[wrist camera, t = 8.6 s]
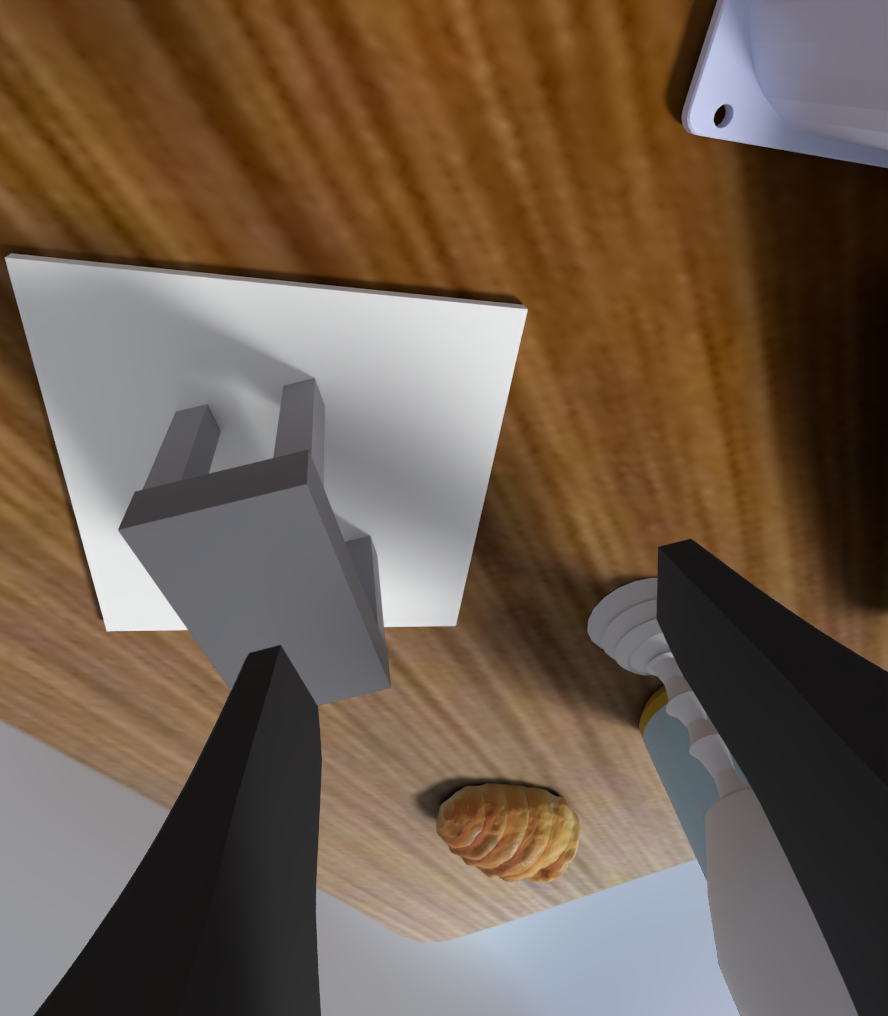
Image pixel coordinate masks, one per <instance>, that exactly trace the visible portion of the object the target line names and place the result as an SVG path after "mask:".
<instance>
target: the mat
mask: <svg viewBox="0 0 888 1016" xmlns="http://www.w3.org/2000/svg"><path fill="white" fill-rule="evenodd" d="M5 261H6V264H7V268H8V272H9V275H10V279H11V283H12V286H13V290H14V294H15V297H16V301H17V305H18V308H19V312H20V316H21V319H22V323H23V326H24V330H25V334H26V337H27V341H28V345H29V348H30V352H31V356H32V359H33V363H34V367H35V370H36V374H37V378H38V381H39V385H40V389H41V392H42V396H43V400H44V403H45V407H46V411H47V414H48V418H49V422H50V425H51V429H52V433H53V436H54V440H55V443H56V447H57V451H58V454H59V458H60V462H61V465H62V469H63V473H64V476H65V480H66V484H67V487H68V491H69V495H70V498H71V502H72V506H73V509H74V513H75V517H76V520H77V524H78V528H79V531H80V535H81V539H82V542H83V546H84V550H85V553H86V557H87V560H88V564H89V568H90V571H91V575H92V579H93V582H94V586H95V590H96V593H97V597H98V601H99V604H100V608H101V612H102V615H103V619H104V623H105V626H106V630H107V631H150V630H188V629H187V628H186V626H185V625H184V623H183V622H182V621H181V619H180V618H179V616H178V615H177V614H176V612H175V611H174V609H173V608H172V606H171V605H170V604H169V602H168V601H167V599H166V598H165V596H164V595H163V594H162V592H161V591H160V589H159V588H158V587H157V585H156V584H155V582H154V581H153V579H152V578H151V577H150V575H149V574H148V572H147V571H146V569H145V568H144V567H143V565H142V564H141V562H140V561H139V560H138V558H137V557H136V555H135V554H134V552H133V551H132V550H131V548H130V547H129V545H128V544H127V542H126V541H125V540H124V538H123V537H122V535H121V534H120V533H119V531H118V528H119V526H120V524H121V522H122V519H123V517H124V515H125V513H126V510H127V508H128V506H129V504H130V501H131V499H132V497H133V495H134V492H135V491H140V490H142V489H143V487H144V485H145V482H146V480H147V478H148V475H149V473H150V471H151V468H152V466H153V464H154V461H155V459H156V457H157V454H158V452H159V450H160V447H161V445H162V443H163V440H164V438H165V435H166V433H167V431H168V428H169V426H170V424H171V421H172V419H173V417H174V414H175V412H177V411H181V410H185V409H189V408H193V407H197V406H201V405H206V404H208V407H209V409H210V411H211V413H212V415H213V417H214V419H215V421H216V423H217V425H218V427H219V429H220V431H221V433H220V436H219V440H218V443H217V446H216V450H215V453H214V457H213V460H212V464H211V467H210V471H209V474H210V473H214V472H218V471H222V470H226V469H230V468H234V467H238V466H243V465H247V464H251V463H255V462H259V461H263V460H267V459H271V458H273V456H274V448H275V441H276V434H277V427H278V420H279V413H280V406H281V398H282V391H283V386H284V385H288V384H292V383H296V382H301V381H305V380H309V379H313V378H315V380H316V382H317V385H318V388H319V391H320V394H321V397H322V399H323V402H324V405H325V433H324V490H325V492H326V495H327V497H328V500H329V503H330V505H331V508H332V510H333V513H334V515H335V518H336V520H337V523H338V525H339V528H340V531H341V533H342V536H343V538H344V541H345V542H347V541H351V540H355V539H359V538H363V537H367V536H371V538H372V541H373V544H374V547H375V550H376V552H377V556H378V567H379V578H380V589H381V599H382V610H383V621H384V627H415V626H456V623H457V618H458V614H459V609H460V605H461V601H462V596H463V592H464V587H465V583H466V579H467V574H468V570H469V565H470V561H471V557H472V552H473V548H474V543H475V539H476V535H477V530H478V526H479V521H480V517H481V513H482V508H483V504H484V499H485V495H486V490H487V486H488V482H489V477H490V473H491V468H492V464H493V460H494V455H495V451H496V446H497V442H498V438H499V433H500V429H501V424H502V420H503V416H504V411H505V407H506V402H507V398H508V394H509V389H510V385H511V380H512V376H513V372H514V367H515V363H516V358H517V354H518V350H519V345H520V341H521V336H522V332H523V328H524V323H525V319H526V314H527V310H528V309H527V308H526V306H525V305H521V304H511V303H501V302H491V301H481V300H471V299H461V298H451V297H441V296H431V295H421V294H411V293H401V292H391V291H381V290H371V289H361V288H351V287H341V286H331V285H321V284H311V283H301V282H291V281H281V280H271V279H261V278H251V277H241V276H231V275H222V274H212V273H202V272H192V271H182V270H172V269H162V268H152V267H142V266H132V265H122V264H112V263H102V262H92V261H82V260H72V259H62V258H52V257H42V256H32V255H22V254H12V253H11V254H10V255H8V256H6V257H5Z"/></svg>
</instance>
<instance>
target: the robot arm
mask: <svg viewBox="0 0 888 1016" xmlns="http://www.w3.org/2000/svg"><path fill="white" fill-rule="evenodd" d="M722 105H724V106H725V109H726V112H725V117H724V119H723V121H722V122H721V123H720V124H719V125H717V126H715V123H714V114H715V113H716V111H717V109H718V108H719V107H720V106H722ZM682 124H683V127H684V128H685V129H686V131H687V132H689V133H691V134H694V135H699V136H705V137H710V138H716V139H722V140H728V141H734V142H739V143H745V144H751V145H757V146H763V147H768V148H774V149H780V150H786V151H792V152H798V153H803V154H809V155H815V156H821V157H827V158H832V159H838V160H844V161H850V162H856V163H861V164H867V165H873V166H879V167H885V168H888V0H717V3H716V6H715V9H714V12H713V16H712V19H711V22H710V25H709V28H708V31H707V34H706V38H705V41H704V44H703V47H702V50H701V53H700V57H699V60H698V63H697V66H696V69H695V72H694V75H693V79H692V82H691V85H690V88H689V91H688V94H687V98H686V101H685V104H684V107H683V111H682ZM656 619H657V622H658V624H659V626H660V628H661V630H662V633H663V635H664V637H665V639H666V642H667V644H668V646H669V648H670V650H671V652H672V655H673V657H674V659H675V661H676V663H677V665H678V667H679V669H680V671H681V672H682V674H683V676H684V677H685V679H686V681H687V682H688V684H689V686H690V687H691V689H692V691H693V692H694V694H695V696H696V697H697V699H698V701H699V702H700V704H701V706H702V707H703V709H704V710H705V712H706V714H707V715H708V717H709V719H710V720H711V722H712V723H713V725H714V727H715V728H716V730H717V732H718V733H719V735H720V736H721V738H722V740H723V741H724V743H725V745H726V746H727V748H728V749H729V751H730V753H731V754H732V756H733V758H734V759H735V761H736V763H737V764H738V766H739V767H740V769H741V771H742V772H743V774H744V776H745V777H746V779H747V781H748V783H749V784H750V786H751V788H752V790H753V792H754V793H755V795H756V797H757V799H758V800H759V802H760V804H761V806H762V808H763V810H764V812H765V815H766V817H767V819H768V821H769V823H770V825H771V827H772V829H773V831H774V833H775V835H776V837H777V839H778V841H779V843H780V845H781V847H782V849H783V851H784V853H785V855H786V857H787V859H788V861H789V863H790V865H791V868H792V870H793V872H794V874H795V876H796V878H797V880H798V882H799V884H800V887H801V889H802V891H803V893H804V895H805V897H806V899H807V901H808V903H809V906H810V908H811V910H812V912H813V914H814V916H815V919H816V921H817V923H818V925H819V927H820V930H821V932H822V934H823V936H824V938H825V941H826V943H827V945H828V947H829V950H830V952H831V954H832V956H833V958H834V961H835V963H836V965H837V967H838V970H839V972H840V974H841V976H842V978H843V981H844V983H845V985H846V988H847V990H848V992H849V995H850V997H851V999H852V1002H853V1004H854V1006H855V1009H856V1011H857V1013H858V1016H888V672H887V671H885V670H883V669H882V668H880V667H878V666H877V665H875V664H873V663H871V662H870V661H868V660H866V659H865V658H863V657H861V656H860V655H858V654H856V653H855V652H853V651H852V650H850V649H848V648H847V647H845V646H843V645H842V644H840V643H839V642H837V641H835V640H834V639H832V638H831V637H829V636H827V635H826V634H824V633H823V632H821V631H820V630H818V629H817V628H815V627H814V626H812V625H810V624H809V623H807V622H806V621H804V620H803V619H802V618H800V617H799V616H797V615H796V614H794V613H793V612H791V611H790V610H788V609H787V608H785V607H784V606H782V605H781V604H780V603H778V602H777V601H775V600H774V599H772V598H771V597H769V596H768V595H767V594H765V593H764V592H762V591H761V590H760V589H758V588H757V587H755V586H754V585H753V584H751V583H750V582H749V581H747V580H746V579H744V578H743V577H742V576H740V575H739V574H738V573H736V572H735V571H734V570H732V569H731V568H730V567H728V566H727V565H726V564H724V563H723V562H722V561H720V560H719V559H718V558H716V557H715V556H714V555H712V554H711V553H710V552H708V551H707V550H706V549H704V548H703V547H702V546H700V545H699V544H698V543H696V542H695V541H693V540H692V539H688V540H684V541H680V542H676V543H673V544H669V545H665V546H661V547H658V577H657V615H656ZM321 766H322V756H321V739H320V726H319V714H318V706H317V704H316V702H315V701H314V699H313V697H312V696H311V694H310V692H309V691H308V689H307V687H306V686H305V684H304V682H303V681H302V679H301V677H300V676H299V674H298V672H297V671H296V669H295V667H294V666H293V664H292V662H291V661H290V659H289V657H288V656H287V654H286V652H285V651H284V649H283V648H282V646H281V645H278V646H274V647H270V648H266V649H262V650H258V651H254V652H251V653H249V654H248V656H247V657H246V659H245V661H244V663H243V665H242V668H241V670H240V672H239V674H238V676H237V679H236V681H235V683H234V685H233V688H232V690H231V692H230V694H229V696H228V698H227V701H226V703H225V705H224V707H223V709H222V711H221V714H220V716H219V718H218V720H217V722H216V724H215V726H214V728H213V730H212V732H211V734H210V736H209V739H208V741H207V743H206V745H205V747H204V749H203V751H202V753H201V755H200V757H199V759H198V761H197V763H196V765H195V767H194V769H193V771H192V773H191V775H190V776H189V778H188V780H187V782H186V784H185V786H184V788H183V789H182V791H181V793H180V795H179V797H178V799H177V800H176V802H175V804H174V806H173V808H172V809H171V811H170V813H169V815H168V817H167V819H166V820H165V822H164V824H163V826H162V828H161V830H160V831H159V833H158V835H157V836H156V838H155V840H154V841H153V843H152V845H151V846H150V848H149V850H148V851H147V853H146V855H145V856H144V858H143V860H142V861H141V863H140V865H139V866H138V868H137V869H136V871H135V873H134V874H133V876H132V877H131V879H130V880H129V882H128V884H127V885H126V887H125V888H124V890H123V891H122V893H121V895H120V896H119V898H118V899H117V901H116V902H115V904H114V905H113V907H112V908H111V910H110V911H109V912H108V914H107V915H106V917H105V918H104V920H103V921H102V923H101V924H100V926H99V927H98V929H97V930H96V931H95V933H94V935H93V936H92V937H91V939H90V940H89V942H88V943H87V945H86V946H85V947H84V949H83V950H82V952H81V953H80V954H79V956H78V957H77V959H76V960H75V962H74V963H73V964H72V966H71V967H70V968H69V970H68V971H67V973H66V974H65V975H64V977H63V978H62V979H61V981H60V982H59V984H58V985H57V986H56V987H55V989H54V990H53V991H52V992H51V994H50V995H49V996H48V998H47V999H46V1000H45V1002H44V1003H43V1004H42V1005H41V1007H40V1008H39V1009H38V1011H37V1012H36V1013H35V1015H34V1016H321V1009H320V993H319V976H318V954H317V931H316V875H317V854H318V834H319V813H320V791H321Z"/></svg>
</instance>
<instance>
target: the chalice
mask: <svg viewBox="0 0 888 1016" xmlns="http://www.w3.org/2000/svg"><path fill="white" fill-rule="evenodd" d="M656 615H657V578H648V579H643V580H638V581H634V582H632V583H629V584H627V585H624V586H622V587H619V588H618V589H616V590H615V591H613V592H612V593H610V594H609V595H607V596H606V597H604V598H603V599H602V600H601V602H600V603H599V604H598V605H597V606H596V607H595V608H594V609H593V611H592V613H591V615H590V617H589V620H588V628H587V632H588V634H589V636H590V638H591V641H592V642H594V643H595V644H596V645H598V646H599V647H600V648H602V649H604V651H605V653H606V654H608V655H609V656H610V657H611V658H613V659H614V660H616V661H617V663H618V664H619V665H620V666H621V667H623V668H624V669H626V670H628V671H631V672H633V673H636V674H639V675H654V676H658V678H659V679H660V680H661V681H662V682H663V684H664V685H665V688H666V691H667V695H668V699H669V701H668V703H667V706H666V712H667V714H669V715H670V716H673V717H676V718H678V719H679V720H680V721H681V722H682V723H683V724H684V725H685V726H686V727H687V728H688V733H689V737H690V742H691V743H690V749H689V753H690V755H692V756H693V757H695V758H697V759H699V760H700V761H701V762H702V764H703V765H704V766H705V768H706V769H707V770H708V771H709V773H710V774H711V775H712V777H713V778H714V780H715V783H716V786H717V790H718V793H719V796H720V799H719V800H718V801H717V802H716V803H715V804H713V805H712V806H711V808H710V809H709V810H708V811H707V812H706V816H705V833H706V859H707V885H708V898H709V905H710V911H711V918H712V924H713V931H714V937H715V944H716V950H717V957H718V963H719V967H720V969H721V971H722V974H723V976H724V979H725V981H726V983H727V985H728V988H729V990H730V993H731V995H732V997H733V1000H734V1002H735V1004H736V1007H737V1009H738V1012H739V1014H740V1016H858V1013H857V1011H856V1009H855V1006H854V1004H853V1002H852V999H851V997H850V995H849V992H848V990H847V988H846V985H845V983H844V981H843V978H842V976H841V974H840V972H839V970H838V967H837V965H836V963H835V961H834V958H833V956H832V954H831V952H830V950H829V947H828V945H827V943H826V941H825V938H824V936H823V934H822V932H821V930H820V927H819V925H818V923H817V921H816V919H815V916H814V914H813V912H812V910H811V908H810V906H809V903H808V901H807V899H806V897H805V895H804V893H803V891H802V889H801V887H800V884H799V882H798V880H797V878H796V876H795V874H794V872H793V870H792V868H791V865H790V863H789V861H788V859H787V857H786V855H785V853H784V851H783V849H782V847H781V845H780V843H779V841H778V839H777V837H776V835H775V833H774V831H773V829H772V827H771V825H770V823H769V821H768V819H767V817H766V815H765V812H764V810H763V808H762V806H761V804H760V802H759V800H758V799H757V797H756V795H755V793H754V792H753V790H752V788H751V787H749V786H748V785H747V784H746V783H745V781H744V780H743V779H742V778H741V776H740V775H739V774H738V773H737V772H736V770H735V768H734V765H733V762H732V759H731V756H730V753H729V750H728V748H727V746H726V745H725V743H724V741H723V740H722V738H721V736H720V735H719V733H718V732H717V730H716V729H715V728H714V727H713V726H712V725H711V724H710V723H709V722H708V720H707V716H706V712H705V710H704V709H703V707H702V706H701V704H700V702H699V701H698V699H697V697H696V696H695V694H694V692H693V691H692V689H691V687H690V686H689V684H688V682H687V681H686V680H685V679H684V678H683V675H682V672H681V671H680V669H679V667H678V665H677V663H676V661H675V659H674V657H673V655H672V652H671V650H670V648H669V646H668V644H667V642H666V639H665V637H664V635H663V633H662V630H661V628H660V626H659V624H658V622H657V619H656Z"/></svg>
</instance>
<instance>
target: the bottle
mask: <svg viewBox="0 0 888 1016" xmlns="http://www.w3.org/2000/svg"><path fill="white" fill-rule="evenodd" d="M683 678H684V679H685V677H684V676H683ZM685 680H686V679H685ZM668 701H669V699H668V695H667V691H666V688H665V685H663V686H662V687H661V688H660V689H659V690H658V691H656V692H655V693H654V694H653V695H652V696H651V697H650V699H649V700H648V702H647V703H646V705H645V707H644V710H643V712H642V715H641V718H640V724H639V730H640V733H641V735H642V737H643V740H644V743H645V745H646V748H647V750H648V752H649V754H650V756H651V759H652V761H653V763H654V765H655V767H656V770H657V772H658V774H659V776H660V778H661V781H662V783H663V785H664V787H665V790H666V792H667V794H668V796H669V798H670V801H671V803H672V805H673V807H674V809H675V812H676V814H677V816H678V818H679V820H680V823H681V825H682V827H683V829H684V832H685V834H686V836H687V838H688V840H689V843H690V845H691V847H692V849H693V851H694V854H695V856H696V858H697V860H698V862H699V865H700V867H701V869H702V871H703V873H704V876H705V878H706V880H707V859H706V833H705V816H706V812H707V811H708V810H709V809H710V808H711V806H712V805H713V804H715V803H716V802H717V801H718V800H719V799H720V796H719V793H718V790H717V786H716V783H715V780H714V778H713V777H712V775H711V774H710V773H709V771H708V770H707V769H706V768H705V766H704V765H703V764H702V762H701V761H700V760H699V759H697V758H695V757H693V756H692V755H690V753H689V749H690V743H691V742H690V737H689V733H688V728H687V727H686V726H685V725H684V724H683V723H682V722H681V721H680V720H679V719H678V718H676V717H673V716H670V715H669V714H667V712H666V706H667V703H668ZM706 716H707V720H708V722H709V723H710V724H711V725H712V726H713V727H714V725H713V723H712V722H711V720H710V719H709V717H708V715H707V714H706ZM714 728H715V727H714ZM715 729H716V728H715ZM728 750H729V749H728ZM729 753H730V751H729ZM730 756H731V759H732V762H733V765H734V768H735V770H736V772H737V773H738V774H739V775H740V776H741V778H742V779H743V780H744V781H745V783H746V784H747V785H748V786H749V787H751V786H750V784H749V783H748V781H747V779H746V777H745V776H744V774H743V772H742V771H741V769H740V767H739V766H738V764H737V763H736V761H735V759H734V758H733V756H732V754H731V753H730Z"/></svg>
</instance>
